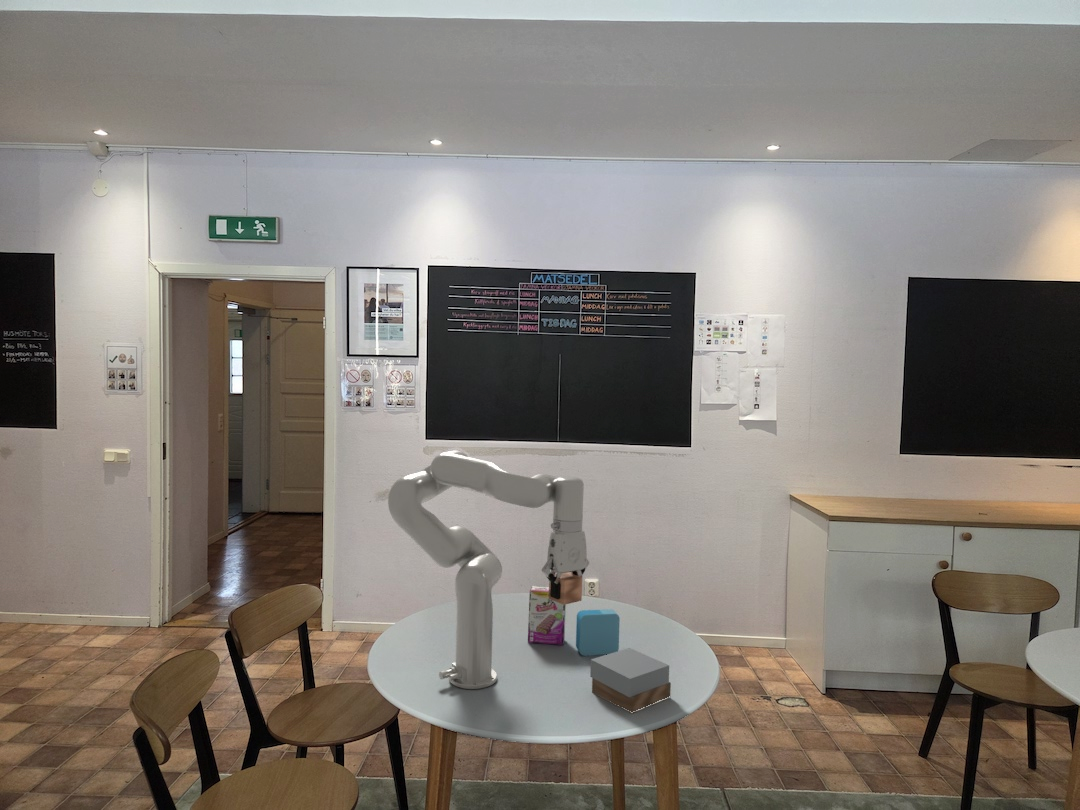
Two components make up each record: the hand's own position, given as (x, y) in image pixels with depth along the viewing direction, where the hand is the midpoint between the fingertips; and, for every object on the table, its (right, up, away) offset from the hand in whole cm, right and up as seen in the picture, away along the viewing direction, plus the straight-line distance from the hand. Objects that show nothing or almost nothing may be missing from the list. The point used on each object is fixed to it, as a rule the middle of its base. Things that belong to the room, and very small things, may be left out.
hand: (565, 594), depth 170 cm
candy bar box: (-4, -24, +33) cm, 42 cm away
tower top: (+16, -21, -1) cm, 27 cm away
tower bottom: (+17, -26, -1) cm, 31 cm away
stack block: (0, -1, 0) cm, 1 cm away
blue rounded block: (+10, -25, +26) cm, 38 cm away
